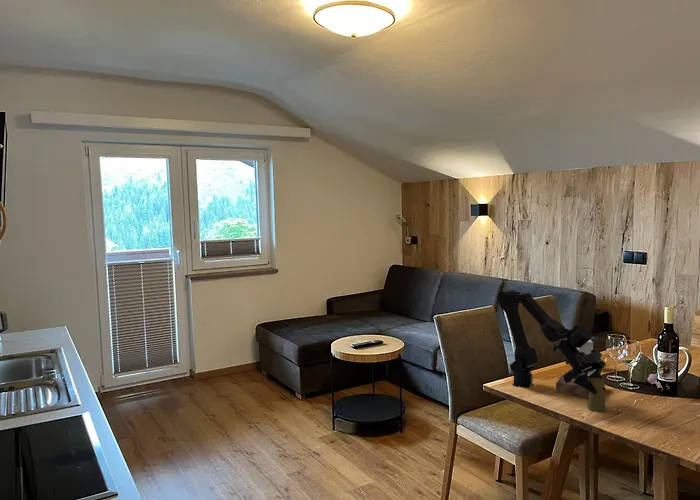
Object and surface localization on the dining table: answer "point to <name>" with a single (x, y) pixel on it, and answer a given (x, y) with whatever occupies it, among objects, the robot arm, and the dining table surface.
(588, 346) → the skincare box
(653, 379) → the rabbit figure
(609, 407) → the dining table surface
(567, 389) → the walnut plinth
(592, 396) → the cork
